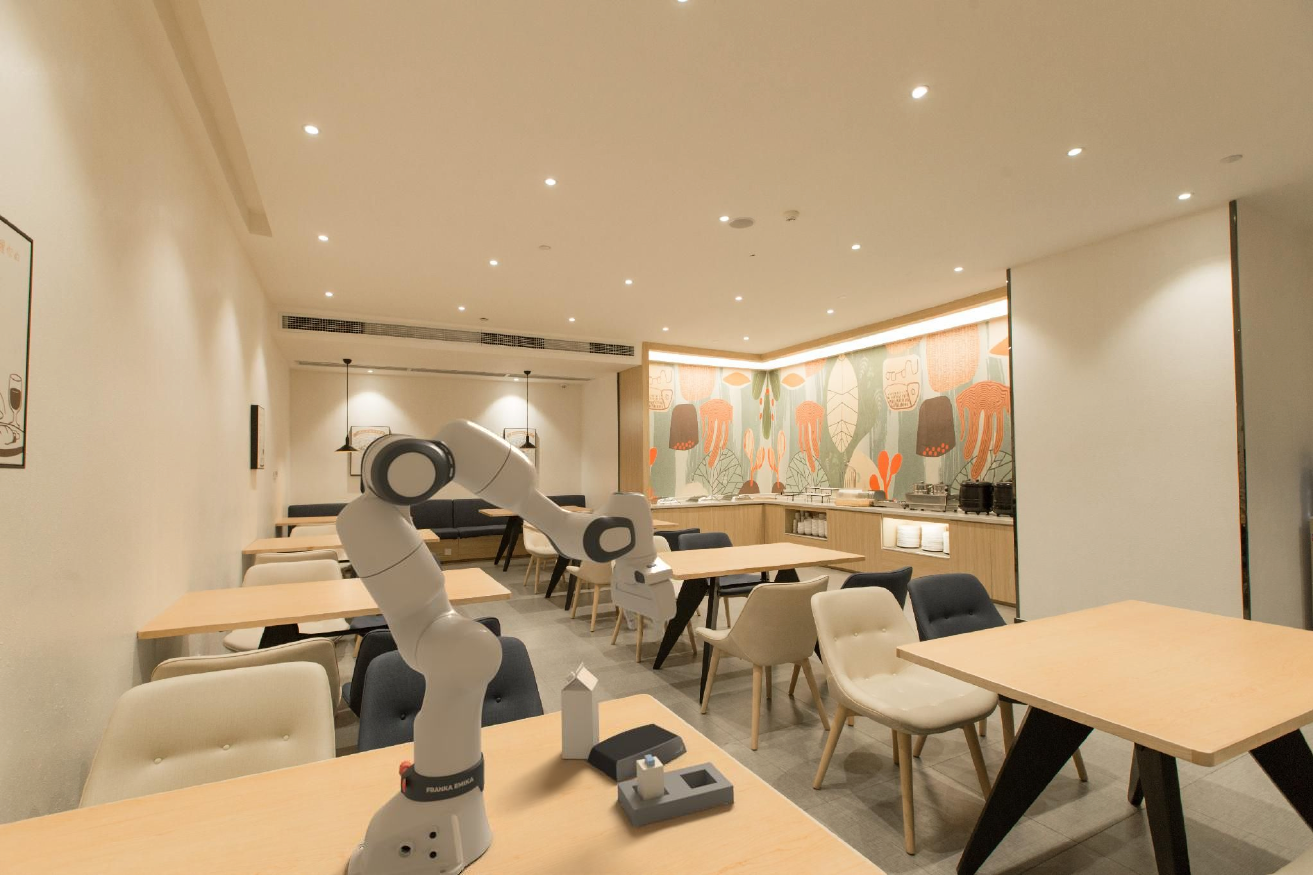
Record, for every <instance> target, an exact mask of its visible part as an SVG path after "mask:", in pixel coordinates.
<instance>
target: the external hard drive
mask: <svg viewBox="0 0 1313 875" xmlns="http://www.w3.org/2000/svg"><path fill="white" fill-rule="evenodd" d="M686 752H688V751H687V748H686V745H685V743H684V741H683V738H682V737H681V736H680V735H677V734H676V733H674V732H671V731H669V730H667V729H665V728H664V727H661V726H659V725H657V724H656V723H650V724H645V725H642V726H638V727H634V728H631V729H627V730H625V731H622V732H619V733H617V734H615V735H613V736H610V737H608V738H607V739H604V740H602V741H599V743H598V744H597V745H595V746H594V747H593V748H592V749H591V751H590V754H589V756H588V759H586V762H587V763H588V764H589V763H590V764H589V765H590V766H592V767H594V768H595V769H597V770H598V771H600V772H602V773H603V774H605V775H606V776H608V777H609V778H610V779H613V780H614V781H616V782H617V783H620V782H624V781H625V780H627V779H628V780H629V779H631V778H633V777H635V776H636V777H637V763H636V761H637V760H641V759H645V755H649V754H651V756H652V757H655V756H656V757H657V758H658V760H659V761H660V762H661V763H662V765H664V764H666V763H668V762H671V761H672V760H674V759H676V758H678V757H679V756H680V757H681V756H682V755H683V754H685V753H686Z"/></svg>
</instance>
